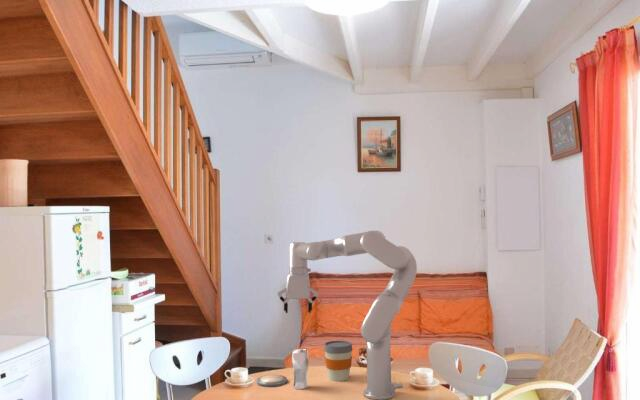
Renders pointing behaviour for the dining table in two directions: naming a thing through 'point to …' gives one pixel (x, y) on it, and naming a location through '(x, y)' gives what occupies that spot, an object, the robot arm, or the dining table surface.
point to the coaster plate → (271, 380)
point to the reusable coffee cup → (338, 359)
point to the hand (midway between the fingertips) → (297, 312)
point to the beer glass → (300, 368)
